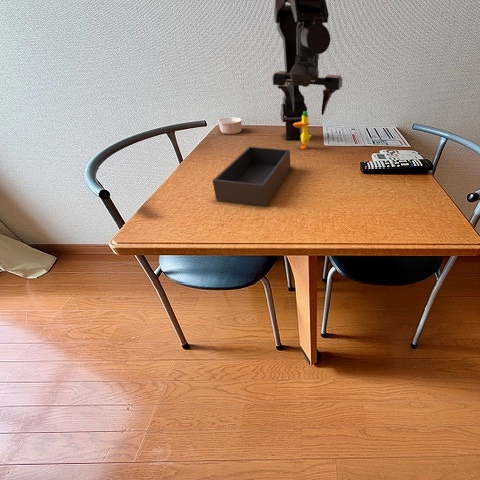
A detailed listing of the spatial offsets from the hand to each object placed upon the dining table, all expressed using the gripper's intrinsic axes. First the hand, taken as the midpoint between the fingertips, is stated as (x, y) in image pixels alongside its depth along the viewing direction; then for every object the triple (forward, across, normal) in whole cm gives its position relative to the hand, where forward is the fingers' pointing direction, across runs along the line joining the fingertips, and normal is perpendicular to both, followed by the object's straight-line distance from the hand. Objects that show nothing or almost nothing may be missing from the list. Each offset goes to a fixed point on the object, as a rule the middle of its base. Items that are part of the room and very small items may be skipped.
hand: (307, 113), depth 85 cm
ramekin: (+14, -36, +18) cm, 43 cm away
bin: (+14, -8, -21) cm, 26 cm away
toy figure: (+14, -4, +8) cm, 17 cm away
